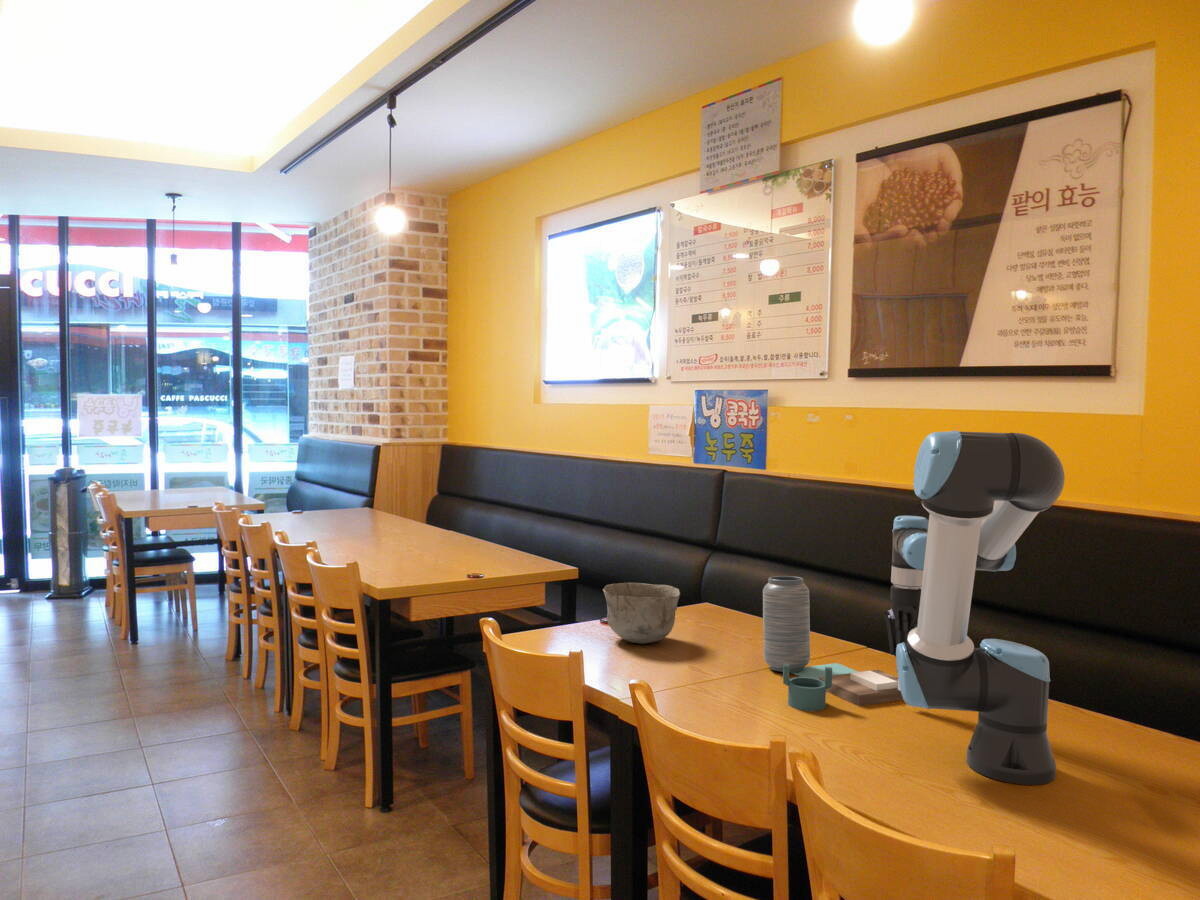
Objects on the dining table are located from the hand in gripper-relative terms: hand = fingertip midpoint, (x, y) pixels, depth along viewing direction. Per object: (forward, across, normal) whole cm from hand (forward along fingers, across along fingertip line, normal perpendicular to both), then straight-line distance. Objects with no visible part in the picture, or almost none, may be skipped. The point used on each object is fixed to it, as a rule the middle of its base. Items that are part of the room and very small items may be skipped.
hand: (904, 689), depth 197 cm
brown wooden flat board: (+4, +11, 0) cm, 12 cm away
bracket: (+4, +10, +19) cm, 22 cm away
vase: (+4, +33, +8) cm, 34 cm away
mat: (+4, +25, 0) cm, 26 cm away
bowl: (+4, +71, +30) cm, 77 cm away
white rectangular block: (+2, +10, 0) cm, 10 cm away
